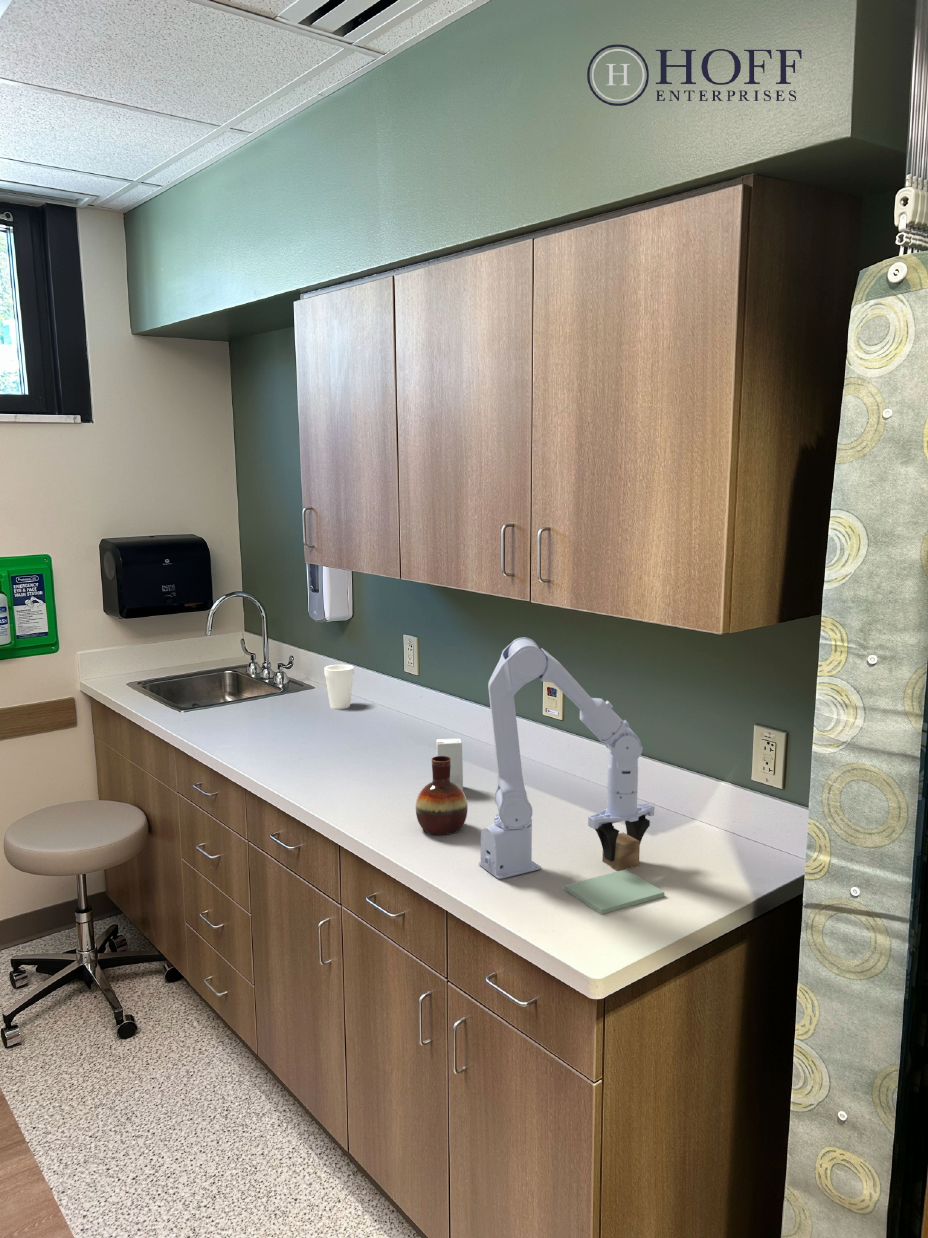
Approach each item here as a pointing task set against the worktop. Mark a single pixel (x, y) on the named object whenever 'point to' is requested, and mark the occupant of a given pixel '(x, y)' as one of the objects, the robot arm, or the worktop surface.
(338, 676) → the foam cup
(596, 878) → the sage board
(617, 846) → the walnut block
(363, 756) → the worktop surface
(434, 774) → the vase
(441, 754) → the skincare box
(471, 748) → the worktop surface
